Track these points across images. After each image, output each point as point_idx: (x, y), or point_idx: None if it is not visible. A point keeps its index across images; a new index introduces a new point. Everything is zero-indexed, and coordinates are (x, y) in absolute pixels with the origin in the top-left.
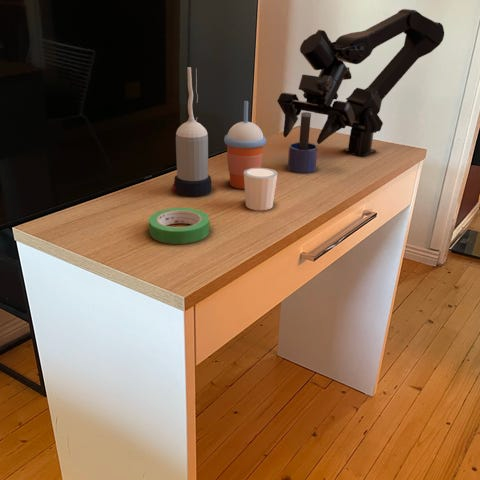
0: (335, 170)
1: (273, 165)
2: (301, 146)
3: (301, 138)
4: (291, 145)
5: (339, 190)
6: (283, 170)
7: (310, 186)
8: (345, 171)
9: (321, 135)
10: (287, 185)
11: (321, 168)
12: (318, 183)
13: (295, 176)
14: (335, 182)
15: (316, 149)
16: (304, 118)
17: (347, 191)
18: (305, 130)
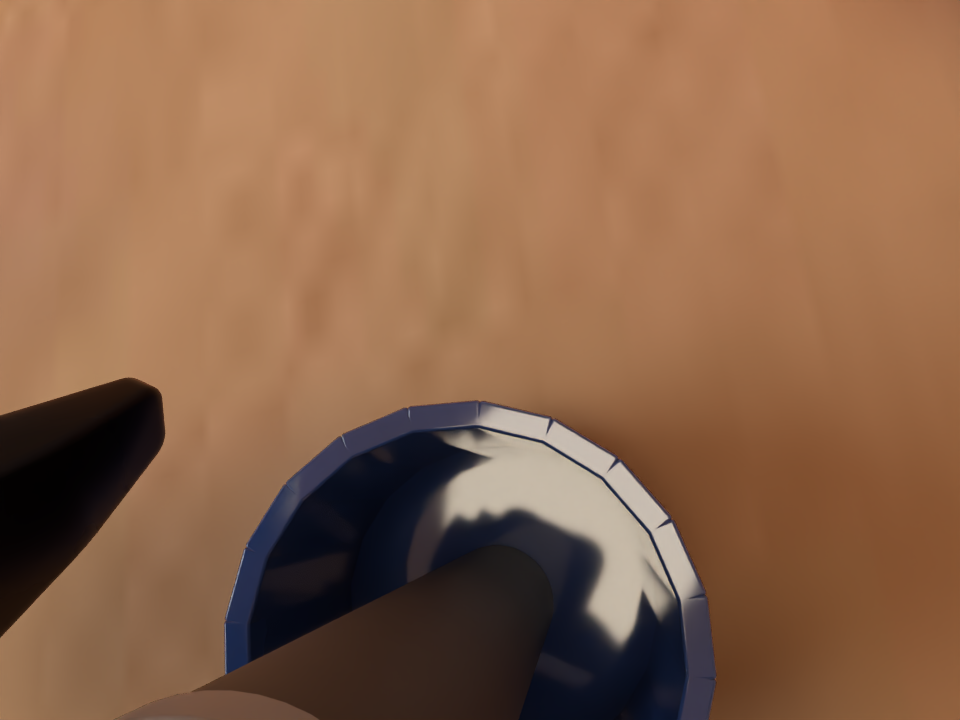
0: (129, 641)
1: (875, 654)
2: (482, 574)
3: (473, 598)
4: (679, 701)
5: (101, 38)
6: (706, 479)
7: (356, 53)
8: (27, 631)
9: (11, 419)
10: (575, 8)
11: None
12: (288, 160)
13: (536, 303)
14: (132, 240)
15: (244, 571)
16: (291, 686)
17: (37, 36)
18: (354, 617)
